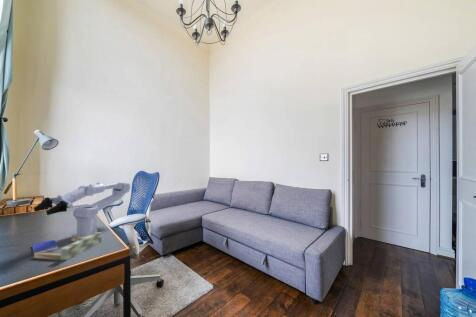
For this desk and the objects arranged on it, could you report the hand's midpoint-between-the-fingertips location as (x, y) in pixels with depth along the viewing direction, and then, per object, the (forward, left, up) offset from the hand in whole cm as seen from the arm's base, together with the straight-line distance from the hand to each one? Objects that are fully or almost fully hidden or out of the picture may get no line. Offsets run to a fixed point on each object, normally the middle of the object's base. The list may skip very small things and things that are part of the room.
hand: (40, 211), depth 92 cm
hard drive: (-4, -2, -20) cm, 20 cm away
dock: (-4, +12, -19) cm, 23 cm away
